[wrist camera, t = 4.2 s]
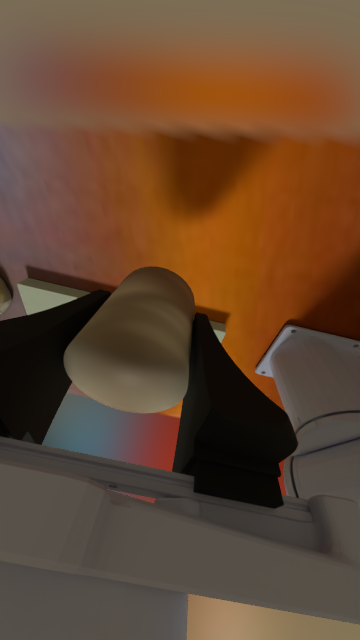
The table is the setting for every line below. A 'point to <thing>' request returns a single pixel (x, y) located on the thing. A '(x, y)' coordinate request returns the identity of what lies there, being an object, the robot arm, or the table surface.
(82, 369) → the maple cylinder
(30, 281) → the green board
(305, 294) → the table surface
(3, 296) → the bread roll
